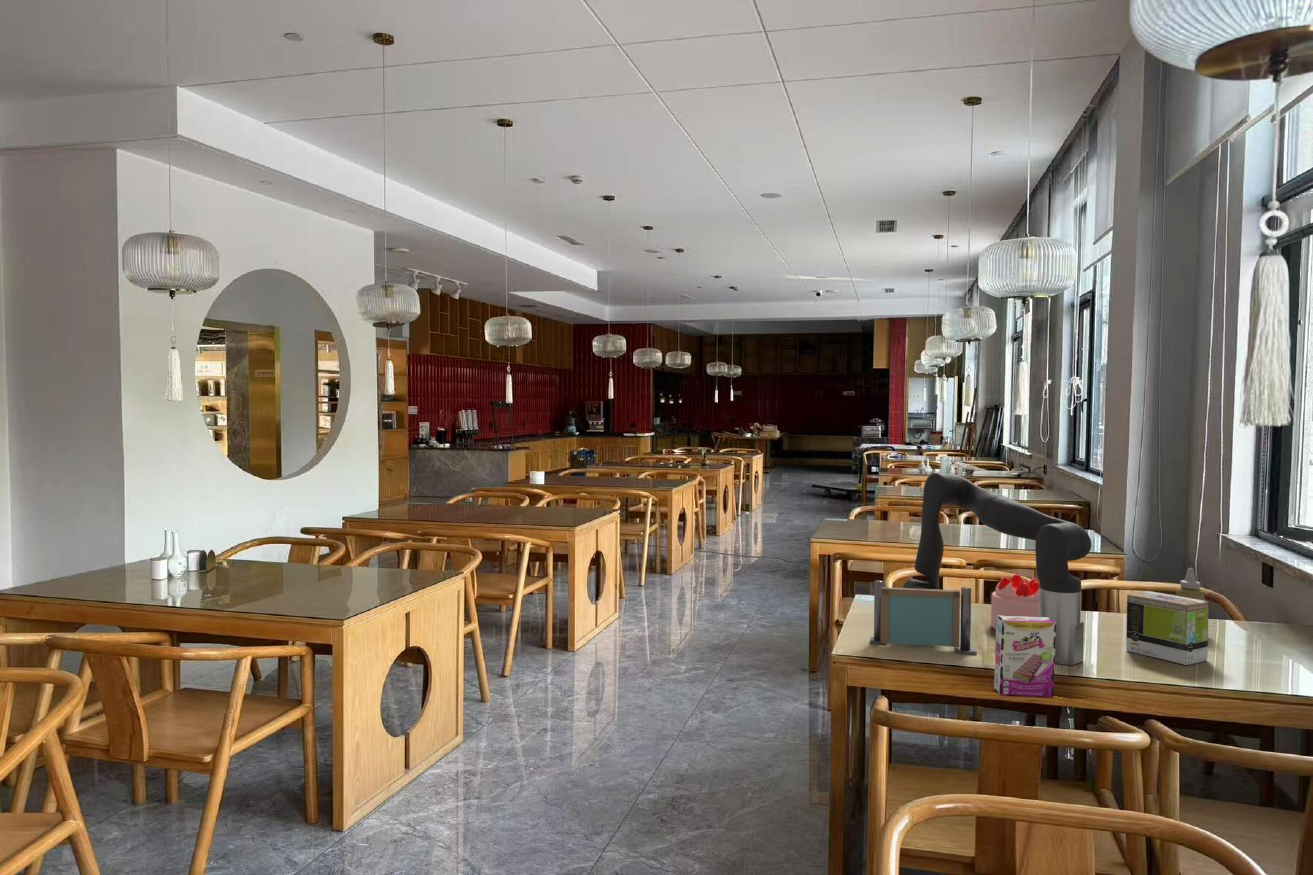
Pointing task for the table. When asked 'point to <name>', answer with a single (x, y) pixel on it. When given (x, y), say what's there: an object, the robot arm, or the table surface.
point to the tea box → (1167, 627)
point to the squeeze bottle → (1190, 587)
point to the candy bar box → (1025, 656)
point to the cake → (1015, 598)
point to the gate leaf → (920, 616)
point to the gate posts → (965, 620)
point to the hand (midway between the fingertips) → (922, 621)
